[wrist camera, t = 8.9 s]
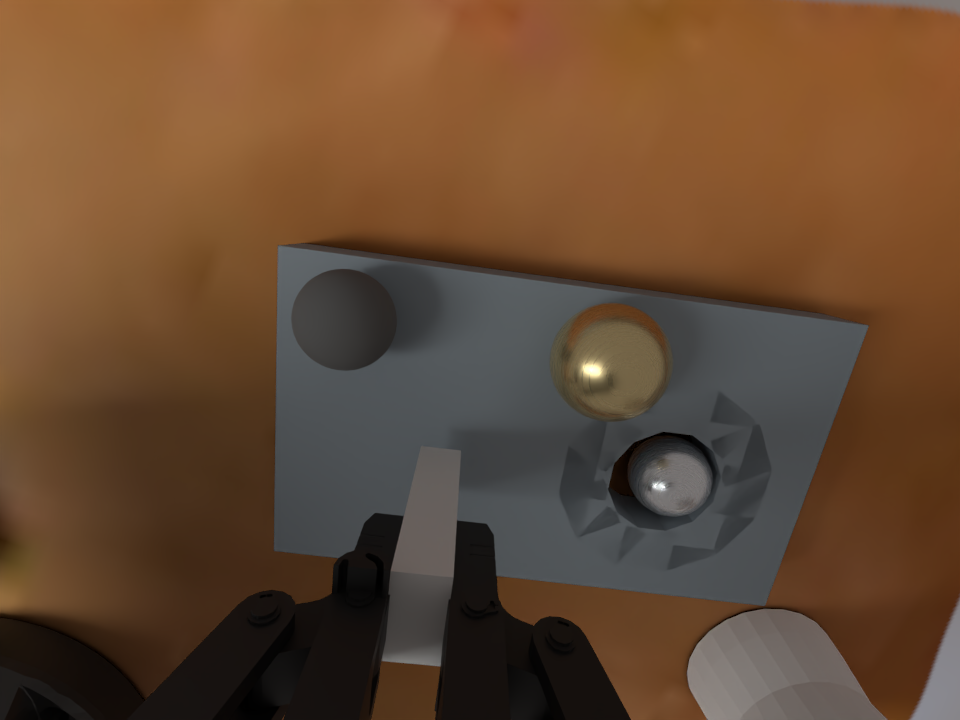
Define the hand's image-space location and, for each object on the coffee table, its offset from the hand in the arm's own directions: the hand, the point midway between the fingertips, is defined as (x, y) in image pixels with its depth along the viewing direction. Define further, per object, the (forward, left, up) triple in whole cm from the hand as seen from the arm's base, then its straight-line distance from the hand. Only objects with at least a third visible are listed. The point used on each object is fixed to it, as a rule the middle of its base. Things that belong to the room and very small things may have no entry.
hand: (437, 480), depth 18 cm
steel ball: (+10, 0, -2) cm, 10 cm away
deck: (+4, +1, -4) cm, 6 cm away
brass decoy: (+5, +6, 0) cm, 8 cm away
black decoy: (-4, +6, 0) cm, 7 cm away
